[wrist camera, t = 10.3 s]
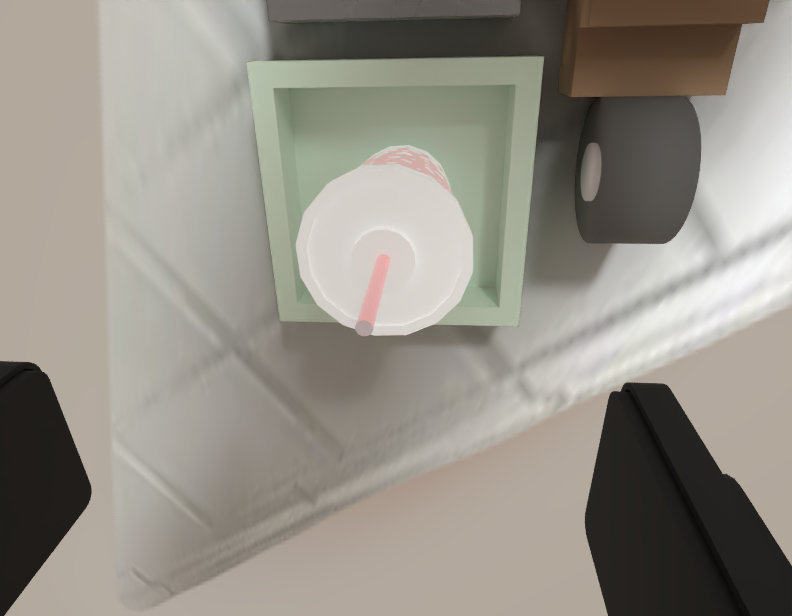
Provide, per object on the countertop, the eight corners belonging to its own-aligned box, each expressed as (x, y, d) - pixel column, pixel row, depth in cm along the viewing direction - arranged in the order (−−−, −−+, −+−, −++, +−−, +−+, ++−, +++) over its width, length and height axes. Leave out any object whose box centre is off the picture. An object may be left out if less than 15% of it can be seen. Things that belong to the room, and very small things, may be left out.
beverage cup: (423, 272, 28) (406, 457, 15) (320, 213, 27) (212, 358, 14) (490, 171, 25) (535, 293, 13) (378, 101, 24) (309, 160, 12)
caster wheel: (581, 91, 24) (620, 104, 19) (659, 90, 24) (722, 102, 18) (564, 220, 27) (595, 263, 21) (634, 220, 26) (683, 265, 21)
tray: (267, 60, 24) (246, 62, 22) (532, 55, 24) (544, 56, 21) (294, 296, 30) (280, 321, 27) (511, 300, 29) (518, 326, 26)
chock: (570, -38, 22) (599, -57, 18) (721, -44, 22) (785, -64, 18) (557, 91, 24) (579, 100, 20) (693, 89, 24) (744, 98, 20)
